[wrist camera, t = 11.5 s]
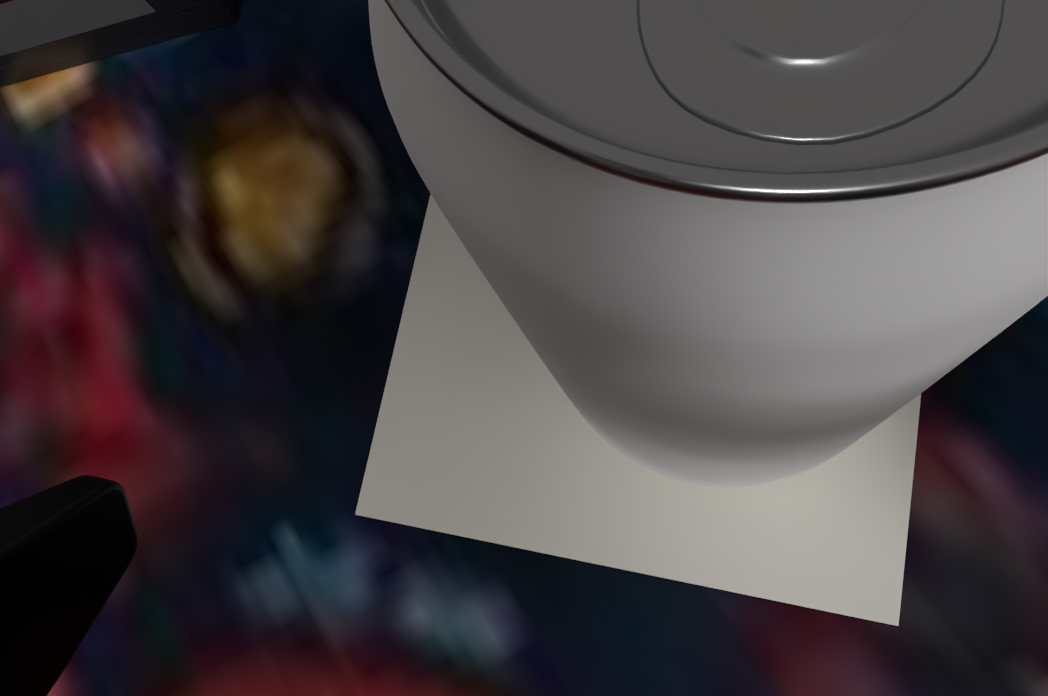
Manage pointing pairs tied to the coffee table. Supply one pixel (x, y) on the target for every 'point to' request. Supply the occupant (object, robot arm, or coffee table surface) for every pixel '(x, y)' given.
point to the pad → (610, 467)
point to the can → (735, 202)
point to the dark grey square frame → (94, 30)
